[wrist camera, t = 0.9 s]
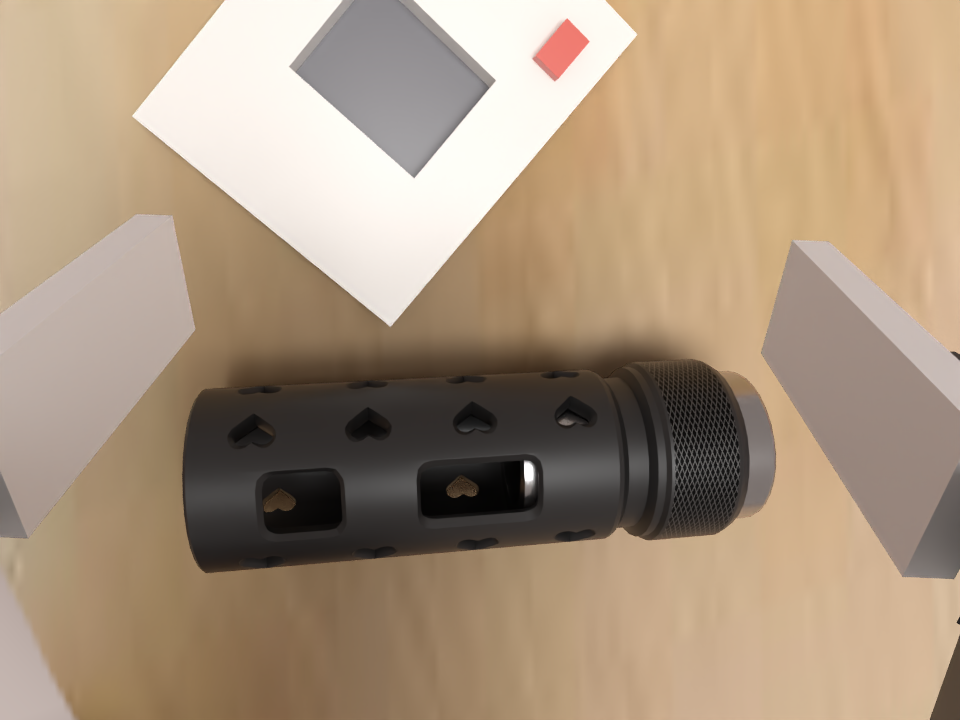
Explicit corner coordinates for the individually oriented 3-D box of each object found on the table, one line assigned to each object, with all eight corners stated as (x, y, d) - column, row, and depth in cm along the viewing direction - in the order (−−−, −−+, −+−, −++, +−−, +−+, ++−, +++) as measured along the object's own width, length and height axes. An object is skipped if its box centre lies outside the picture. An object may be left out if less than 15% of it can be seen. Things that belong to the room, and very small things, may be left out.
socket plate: (389, 320, 40) (391, 329, 37) (148, 123, 36) (126, 113, 33) (620, 46, 39) (643, 30, 35) (397, -188, 35) (400, -229, 32)
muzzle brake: (221, 363, 39) (169, 412, 29) (694, 341, 43) (791, 377, 33) (236, 522, 41) (192, 619, 31) (687, 487, 45) (778, 563, 35)
